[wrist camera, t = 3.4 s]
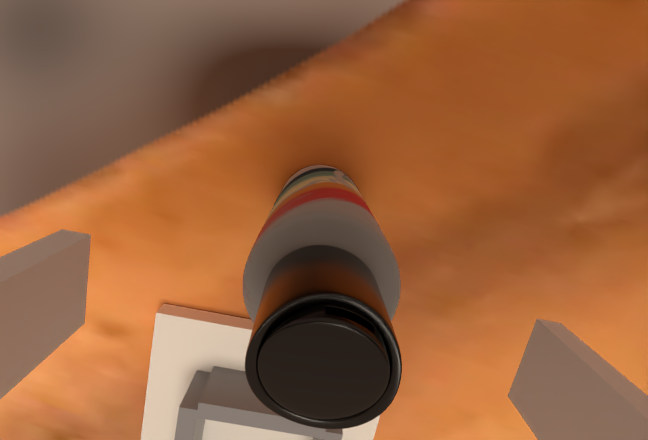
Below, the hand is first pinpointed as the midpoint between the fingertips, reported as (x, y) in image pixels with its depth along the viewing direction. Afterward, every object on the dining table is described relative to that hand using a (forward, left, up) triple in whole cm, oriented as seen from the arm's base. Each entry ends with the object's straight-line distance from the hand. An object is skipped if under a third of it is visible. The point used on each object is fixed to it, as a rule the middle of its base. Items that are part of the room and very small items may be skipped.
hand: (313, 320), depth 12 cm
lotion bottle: (0, 0, -18) cm, 18 cm away
